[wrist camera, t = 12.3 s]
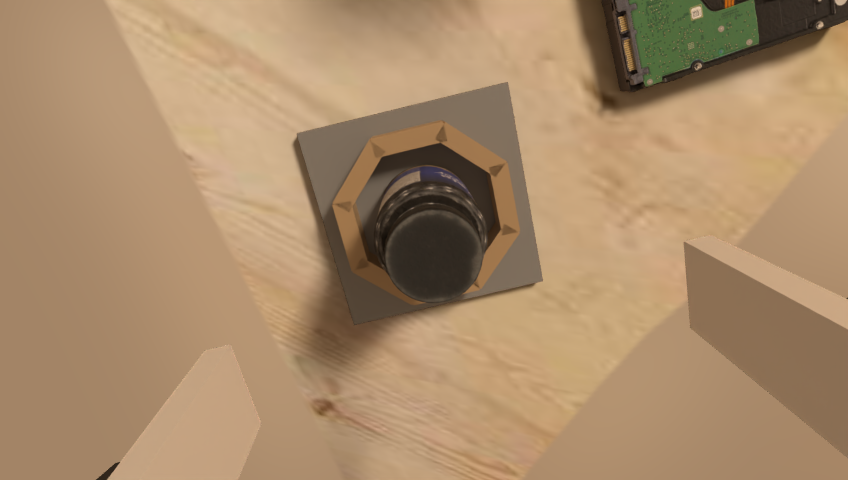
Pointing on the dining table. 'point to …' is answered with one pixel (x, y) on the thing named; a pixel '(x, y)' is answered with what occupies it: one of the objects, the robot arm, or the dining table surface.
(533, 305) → the dining table surface
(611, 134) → the dining table surface
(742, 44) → the disk drive
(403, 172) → the pill bottle
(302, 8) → the dining table surface
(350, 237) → the end holder
